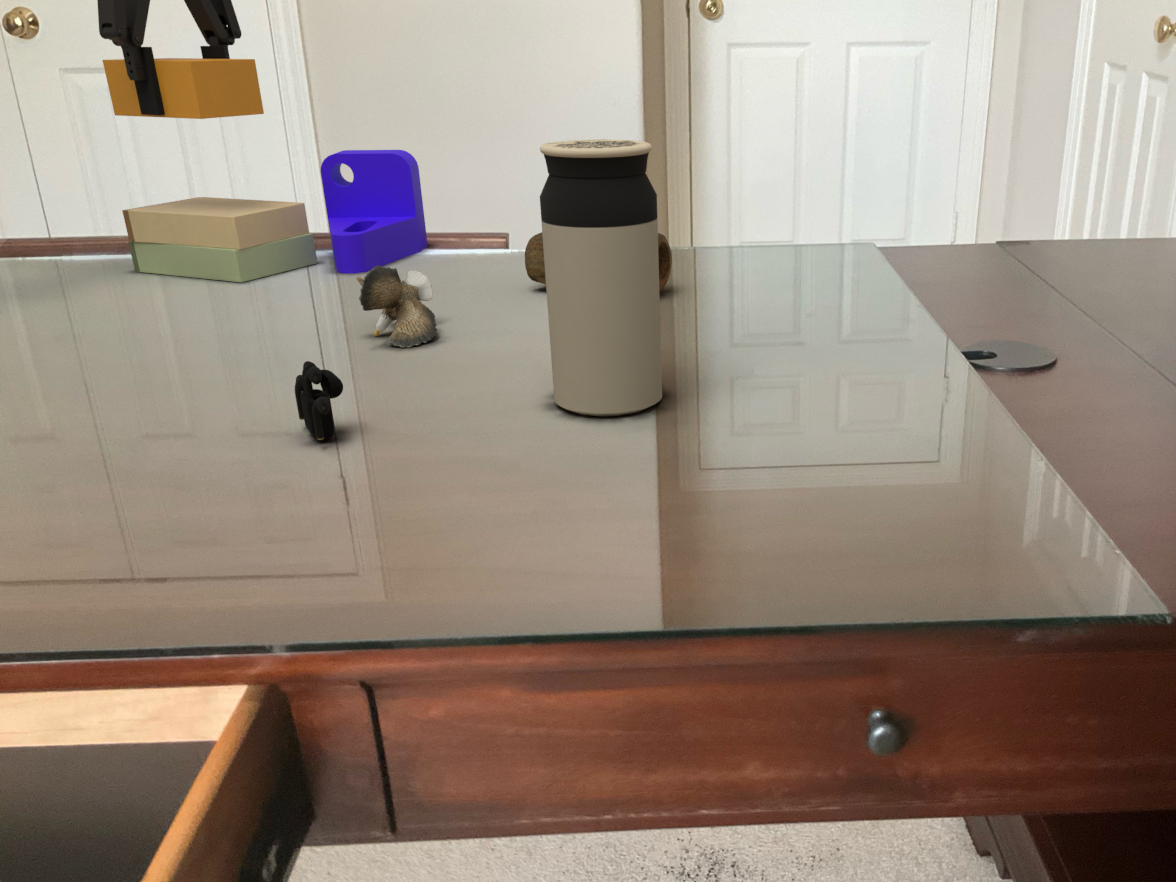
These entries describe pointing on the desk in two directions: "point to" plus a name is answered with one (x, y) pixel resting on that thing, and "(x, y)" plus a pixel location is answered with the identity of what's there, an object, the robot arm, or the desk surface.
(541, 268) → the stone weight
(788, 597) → the desk surface
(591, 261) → the travel mug
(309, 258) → the beige and green block
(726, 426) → the desk surface
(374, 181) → the bracket
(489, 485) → the desk surface
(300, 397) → the wireless earbuds
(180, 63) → the orange block
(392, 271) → the eagle figurine
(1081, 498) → the desk surface
